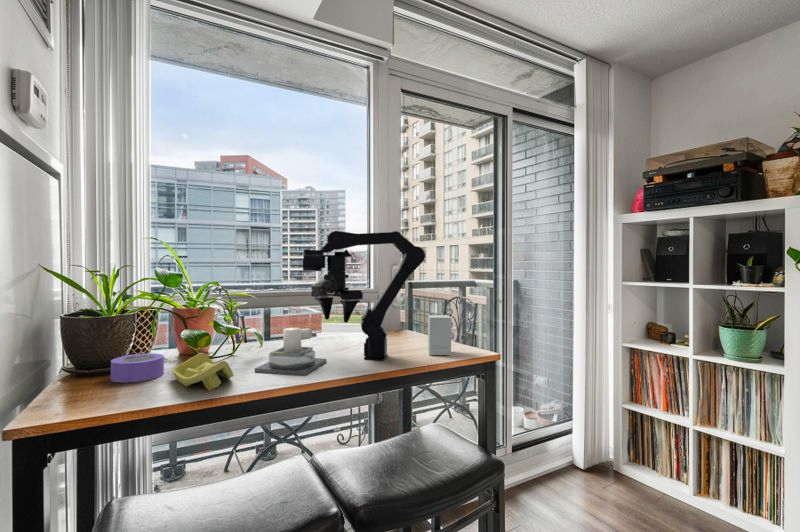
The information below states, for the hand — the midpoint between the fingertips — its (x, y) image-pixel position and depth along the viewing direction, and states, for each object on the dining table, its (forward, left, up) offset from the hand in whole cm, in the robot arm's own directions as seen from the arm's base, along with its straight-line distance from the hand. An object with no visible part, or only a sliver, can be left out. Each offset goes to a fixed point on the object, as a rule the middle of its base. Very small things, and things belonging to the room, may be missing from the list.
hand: (336, 320), depth 128 cm
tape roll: (+44, +30, -12) cm, 55 cm away
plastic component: (+23, +32, -12) cm, 41 cm away
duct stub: (+9, +12, -12) cm, 19 cm away
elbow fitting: (+8, +11, -8) cm, 16 cm away
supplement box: (-31, -15, -12) cm, 37 cm away
